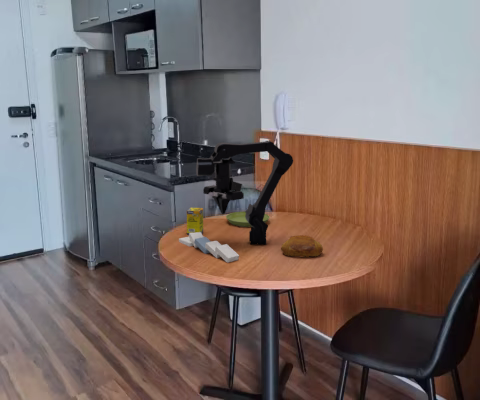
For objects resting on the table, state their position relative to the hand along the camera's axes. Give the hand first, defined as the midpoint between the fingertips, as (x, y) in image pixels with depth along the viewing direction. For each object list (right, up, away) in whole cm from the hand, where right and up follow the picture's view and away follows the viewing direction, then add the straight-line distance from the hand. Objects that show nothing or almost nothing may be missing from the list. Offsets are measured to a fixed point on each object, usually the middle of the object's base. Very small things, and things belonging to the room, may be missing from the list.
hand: (223, 213), depth 193 cm
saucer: (+10, -6, +37) cm, 39 cm away
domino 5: (+4, -16, -17) cm, 23 cm away
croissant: (+31, -15, -7) cm, 35 cm away
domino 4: (0, -15, -12) cm, 19 cm away
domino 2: (-9, -12, -1) cm, 15 cm away
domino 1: (-12, -12, +2) cm, 17 cm away
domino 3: (-5, -14, -7) cm, 16 cm away
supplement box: (-13, -9, +19) cm, 25 cm away
